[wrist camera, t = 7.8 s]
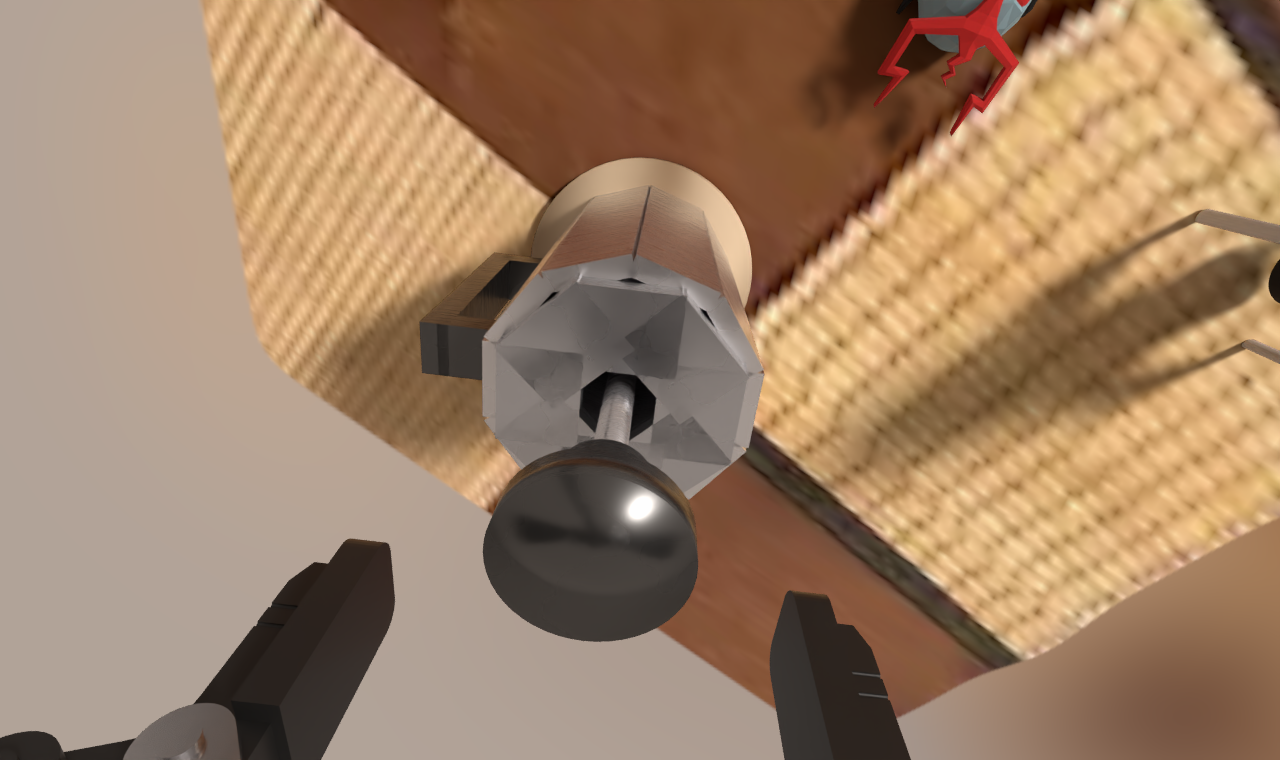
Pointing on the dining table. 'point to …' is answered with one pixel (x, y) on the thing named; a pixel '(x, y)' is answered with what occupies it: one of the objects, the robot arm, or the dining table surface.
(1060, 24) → the dining table surface
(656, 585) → the plunger
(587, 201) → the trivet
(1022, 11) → the toy
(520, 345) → the french press
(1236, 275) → the dining table surface
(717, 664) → the dining table surface
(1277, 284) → the toy
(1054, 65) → the dining table surface
